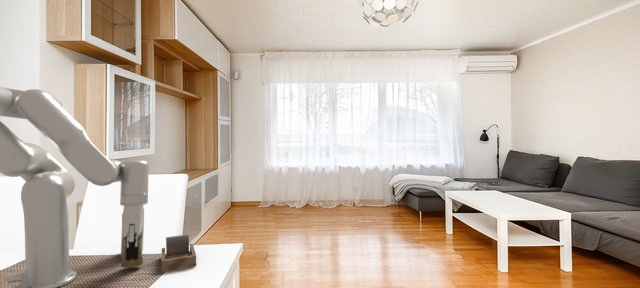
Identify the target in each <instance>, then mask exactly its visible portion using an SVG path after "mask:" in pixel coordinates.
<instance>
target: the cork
mask: <svg viewBox="0 0 640 288" xmlns="http://www.w3.org/2000/svg"><path fill="white" fill-rule="evenodd" d="M142 235H143V236H144V234H143V232H142V230H141V233H140V236H139V237H138V242H137V246H138V259H137V260H133V259H131V260H129V261H126V247H127V236H126V237H124V239H125V240H126V241H125V247H124V252H123V258H121V263H120V264H121V265H120V266H121V268H124V269H125V268H127V269H128V268H129V269H130V268H137V267H139V266H142V265H143V264H144V260H143V259H144V258H143V251H142V248H141V238H142ZM135 236H136V235H134V237H135ZM134 240H135V239H134Z"/></svg>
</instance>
